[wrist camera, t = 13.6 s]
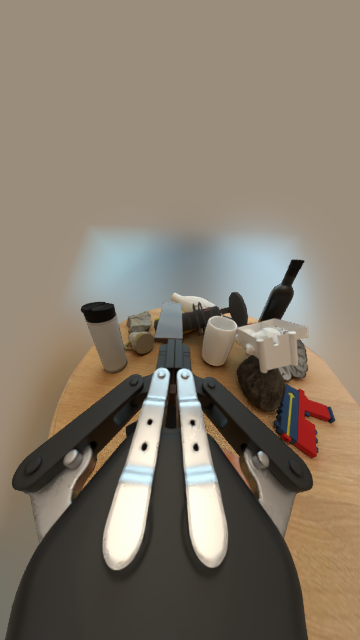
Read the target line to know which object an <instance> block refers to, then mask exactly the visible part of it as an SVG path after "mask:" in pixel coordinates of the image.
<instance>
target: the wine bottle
mask: <svg viewBox="0 0 360 640" xmlns="http://www.w3.org/2000/svg"><path fill="white" fill-rule="evenodd" d="M303 263H304V260H291V262H290V265H289V268H288V270H287V272H286V274H285V277H284V279H283V281H282V283H281V284H279V285H277V286H276V287H274V289H273V290H272V291H271V293H270V296H269V298H268V300H267V303H266V305H265V307H264V310H263V312H262V314H261V316H260V318H259V321H258V322H262V321H266V320H270V319H274V318H275V319H279V320H281V318H282V316H283V315H284V312H285V311H286V309H287V307H288V305H289V303H290V302H291V300H292V298H293V295H294V291H293V288H292V283H293V281H294V279H295V278H296V275H297V274H298V272H299V270H300V269H301V266H302V264H303ZM275 327H276V326H275Z"/></svg>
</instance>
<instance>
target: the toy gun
mask: <svg viewBox="0 0 360 640" xmlns="http://www.w3.org/2000/svg"><path fill="white" fill-rule="evenodd" d="M285 387H286V390H285V394H284V396H283V399H282V401H281V403H280V406H279V407H280V408H279V409H278V413H279V415H277V419H278V422H277V421H276V420H275V421H274V425H275V426H277V430H276V432H277V433H279V434H280V435H281V438H282V439H283V440H285V441H286V442H287V443H288V442H291V443H292V444H294V445H295V446H296V447H298V448H299V449H300V450H302V451H303V452H304V453H306V454H307V455H308V456H309V457H311V458H313V457H316V456H317V453H318V448H317V447H316V443H318V439H317V438H316V434H317V431H316V429H315V425H314V424H312V423H311V422H309V421H308V420H306V419H305V415H306V416H307V417H309V416H313V417H315V418H318V419H321V420H324V421H329V423H332V422H334V421H335V418H334V415H333V412H332V409H331V407H327V406H326V405H323V404H320V403H317V402H314V401H311V400H308V398H307V397H306V396H305V395H304V391H303V390H301V389H299V390H296V389H294V388H292V387H291V386H289V385H287V384H286V385H285Z"/></svg>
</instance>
